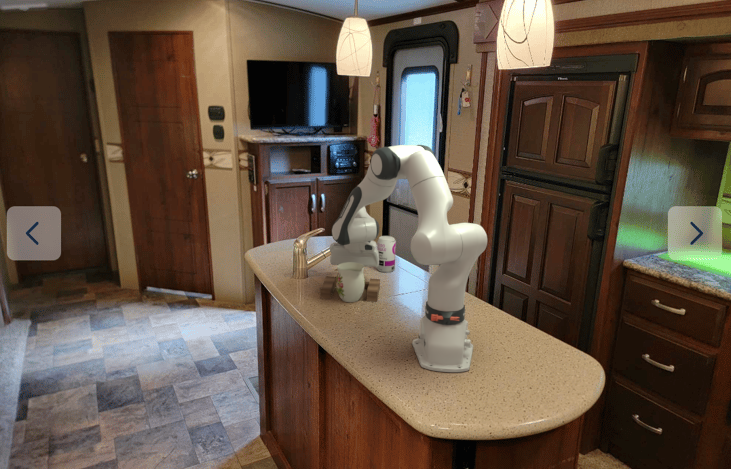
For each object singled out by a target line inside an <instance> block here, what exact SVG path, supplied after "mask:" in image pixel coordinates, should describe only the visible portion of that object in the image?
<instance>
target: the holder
mask: <svg viewBox="0 0 731 469" xmlns="http://www.w3.org/2000/svg"><path fill="white" fill-rule="evenodd" d="M336 278H337V276H332V275H331V276H327V275H326V277H325V279H324V280H323V282H322V284H321V287H320V288H319V289H320V290H319V299H322V300H331V299H332V296H333V294H334V292H335V289H336V288H337V287H336ZM380 288H381V279H379V278H370V279H369V281H365V287H364V290H366V302H373V303H374V302H375V303H376V302H377V303H378V299H379V294H380V290H381V289H380Z"/></svg>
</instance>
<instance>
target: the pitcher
mask: <svg viewBox="0 0 731 469" xmlns="http://www.w3.org/2000/svg"><path fill="white" fill-rule="evenodd" d="M336 268H337V276H336V287H335V288H336V291H337V293H338V297H339V298H340V299H341V300H342V302H346V303H356V302H358V301H360V299H361V298H362V296H363V293H364V291H365V289H364V287H365V282H366V279H365V275H364V274H365V273H364V270H365V266H364V265H362V264H360V263H354V262H346V263H341V264H339V265H336Z"/></svg>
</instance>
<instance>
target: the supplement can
mask: <svg viewBox="0 0 731 469" xmlns="http://www.w3.org/2000/svg"><path fill="white" fill-rule="evenodd" d="M376 244H377V246H376V248H377V250H378V253H379V265H378V266H377V267H376V269H377V270H378V271H379V272H381V273H392V272H393V271H394V270H395V269H396V252H397V251H396V246H397V241H396V239H395V237H393V236H391V235H381V236H379V237H378V239H377V241H376Z"/></svg>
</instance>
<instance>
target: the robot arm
mask: <svg viewBox="0 0 731 469" xmlns="http://www.w3.org/2000/svg"><path fill="white" fill-rule="evenodd" d="M398 180H407V182H408V185H409V189H410V192H411V194H412V198H413V200H414V203H415V207H416V210H417V215H418V225H417V229H416V231H415V232H414V235H413V236H412V237H411V240H410V251H411V255H412V257H413V259H414V260H415V261H416V262H417V263H418V264H420V265H423V266H424V265H426V266H438V268H437V269H436V270H434V272H433V273H432V274H431V275H430V276H429V279H428V286H427V288H428V289H427V300H426V302H425V306H424V310H425V311H424V312H425V313H424V314H425V315H424V316H422V317H421V318H420V319H419V330H418V338H415V339H413V340H412V344H411V345H412V347H413V350H414V352H415V354H416V357H417V360H418V363H419V366H420V367H421V368H424V369H426V370H430V371H434V372H441V373H443V372H444V373H463V372H467V371H469V370H470V369H471V364H472V357H473V352H474V344H473V343H471V341H472V340H471V339H469V338H468V336H470V332H471V331H470V330H469V328H468V326H469V321H468V320H466V319H465V318H466V316H465V315H466V305H465V297H466V296H465V295H466V289H467V288H466V287H467V282H468V279H469V276H470V273H471V272H472V271H471V270H472V268H474V267H473V266H474V265H475V263H476V261H477V259H478V258H479V257H480V256H481V254H482V253H484V251H485V250H486V248H487V246H488V235H487V233H486V231H485V229H484V227H483V226H482V225H480V224H478V223H472V222H471V223H470V222H459V223H453V224H449V221H448V212H449V211H450V210H451V208H452V207H453V205H454V197H453V195H452V192H451V189H450V186H449V184H448V181H447V180H446V176H445V175H444V172H443V170H442V167H441V165H440V164H439V162H438V160H437V158H436V157H435V153H434V151H433V150H432V148H431V147H429V146H427V145H423V144H417V145H415V144H414V145H413V144H411V145H410V144H399V145H391V146H383V147H379V148H377V149H375V150H374V151H373V152H372V154H371V157H370V164H369V166H368V168H367V171H366V174H365V176H364V178H363V179H362V181H361V182H360V183H359V184H357V185H356V186H355V187H354V188H353V189H352V190H351V192H350V194H349V195H348V197H347V200H346V202H345V203H344V206H343V207H342V210H341V211H340V214H339V216H338V217H337V218H336V220H335V221H334V223H333V225H332V227H331V236H332V239H333V241H335V242H333V243H331V244H330V245H329V252H330V256H329V257H330V258H329V261H330V262H329V263H330V264H331V265H332V266H338V265H339V264H341V263H346V262H354V263H360V264H362V265H364V268H365V267H366V268H367V267H368V268H371V267H372V268H377V266H378V265H379V253H378V250H377V241H375V240H376V239H377V238H378V236H379V234H380V224H379V221H378V220H377V219H376V218H374V217H372V216H371V215H369V214H368V212H367V209H366V207H367V206H368V205H371V204H375V203H378V202H382V201H384V200H386V199H387V198H389V197H390V196H391V195H392V193H393V192H394V191H395V188H396V184H397V183H398Z"/></svg>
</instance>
